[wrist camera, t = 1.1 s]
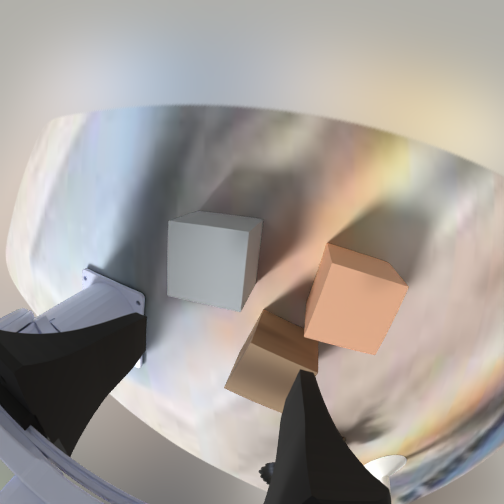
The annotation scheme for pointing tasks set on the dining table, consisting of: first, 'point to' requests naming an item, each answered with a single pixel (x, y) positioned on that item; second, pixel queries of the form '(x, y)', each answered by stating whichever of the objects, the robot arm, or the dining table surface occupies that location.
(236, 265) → the slate grey block
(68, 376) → the robot arm
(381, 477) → the champagne flute
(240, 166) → the dining table surface
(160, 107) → the dining table surface
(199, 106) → the dining table surface
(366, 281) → the terracotta block
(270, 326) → the walnut block
